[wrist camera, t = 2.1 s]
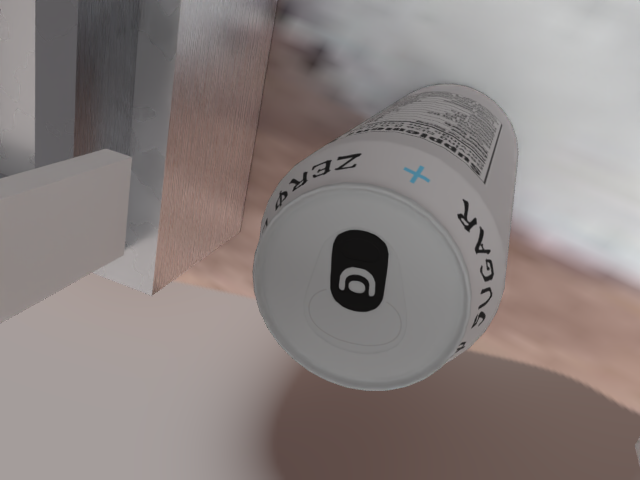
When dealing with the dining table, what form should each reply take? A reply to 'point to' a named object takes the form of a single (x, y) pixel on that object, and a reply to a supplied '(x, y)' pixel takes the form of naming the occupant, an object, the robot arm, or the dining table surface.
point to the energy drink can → (392, 241)
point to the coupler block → (142, 112)
